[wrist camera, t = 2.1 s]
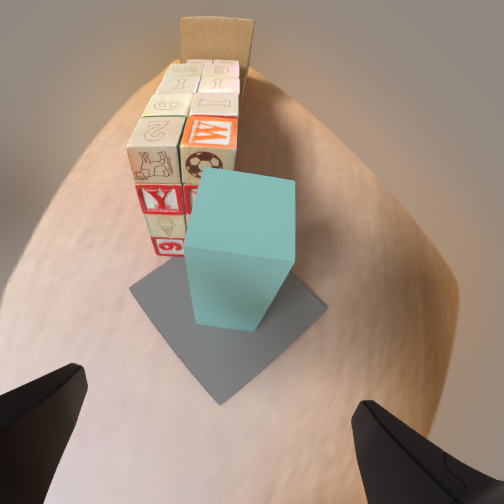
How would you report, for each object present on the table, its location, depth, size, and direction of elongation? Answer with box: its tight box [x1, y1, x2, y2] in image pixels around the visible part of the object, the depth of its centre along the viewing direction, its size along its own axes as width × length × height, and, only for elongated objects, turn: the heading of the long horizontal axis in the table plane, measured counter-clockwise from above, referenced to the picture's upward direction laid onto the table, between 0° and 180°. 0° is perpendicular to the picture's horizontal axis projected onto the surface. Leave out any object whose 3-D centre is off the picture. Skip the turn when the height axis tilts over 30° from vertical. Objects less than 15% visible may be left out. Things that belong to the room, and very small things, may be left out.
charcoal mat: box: [129, 257, 327, 405], centre depth 23 cm, size 12×12×1 cm
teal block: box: [183, 167, 295, 332], centre depth 18 cm, size 5×5×12 cm
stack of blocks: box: [126, 59, 240, 257], centre depth 25 cm, size 21×6×12 cm, turn 0°
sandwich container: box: [180, 16, 255, 118], centre depth 33 cm, size 9×15×15 cm, turn 179°
